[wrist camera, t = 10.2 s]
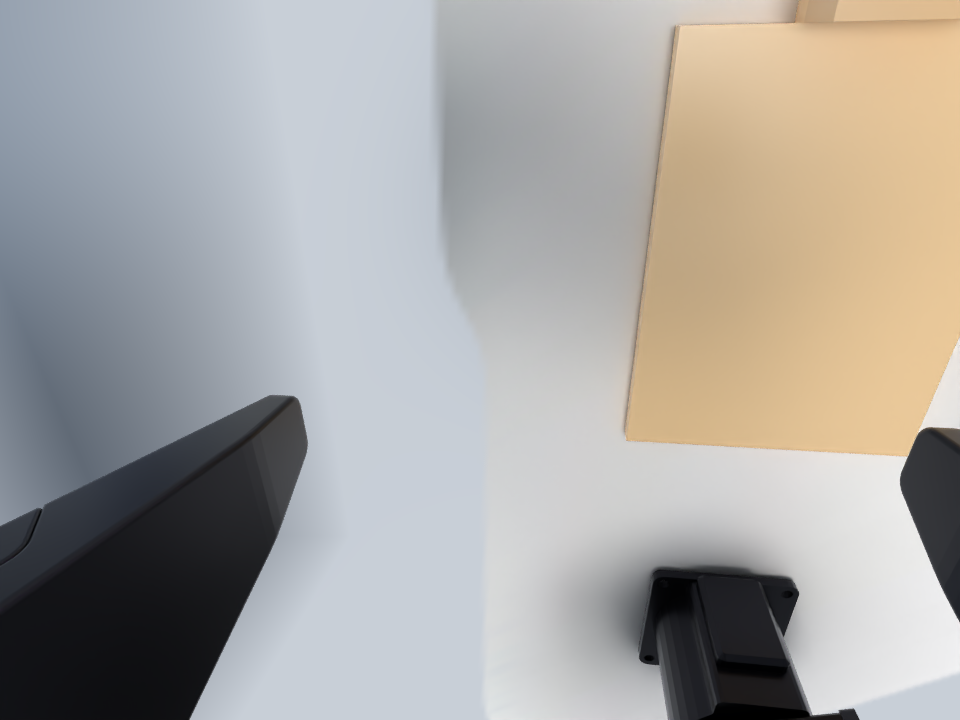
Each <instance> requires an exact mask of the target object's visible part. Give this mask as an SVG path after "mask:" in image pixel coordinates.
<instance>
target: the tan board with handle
mask: <svg viewBox="0 0 960 720" xmlns="http://www.w3.org/2000/svg"><path fill="white" fill-rule="evenodd" d="M959 336H960V0H799V3H798V8H797V12H796V17H795V22H794V23H765V24H720V25H678V26H676V29H675V37H674V44H673V52H672V60H671V68H670V76H669V84H668V92H667V100H666V108H665V116H664V124H663V132H662V140H661V148H660V156H659V164H658V172H657V180H656V188H655V196H654V203H653V211H652V219H651V227H650V235H649V243H648V251H647V259H646V267H645V275H644V283H643V291H642V299H641V307H640V315H639V323H638V331H637V339H636V347H635V355H634V363H633V370H632V378H631V386H630V394H629V402H628V410H627V418H626V426H625V436H626V441H642V442H659V443H677V444H695V445H713V446H730V447H748V448H766V449H784V450H801V451H819V452H837V453H855V454H872V455H890V456H908V454H909V452H910V449H911V447H912V445H913V442H914V440H915V438H916V435H917V433H918V431H919V428H920V426H921V424H922V422H923V419H924V417H925V415H926V412H927V410H928V408H929V405H930V403H931V401H932V398H933V396H934V394H935V392H936V389H937V387H938V385H939V382H940V380H941V378H942V375H943V373H944V371H945V368H946V366H947V364H948V362H949V359H950V357H951V355H952V352H953V350H954V348H955V345H956V343H957V341H958V338H959Z"/></svg>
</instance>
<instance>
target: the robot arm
mask: <svg viewBox="0 0 960 720" xmlns="http://www.w3.org/2000/svg"><path fill="white" fill-rule="evenodd" d="M307 446H308V441H307V435H306V430H305V425H304V420H303V415H302V410H301V405H300V403H299V400H298V399H297V398H296V397H294V396H283V395H270V396H268V397H265V398H263V399H261V400H259V401H257V402H255V403H253V404H251V405H249V406H247V407H245V408H243V409H241V410H238V411H236V412H234V413H233V414H230V415H228V416H227V417H224V418H222V419H220V420H218V421H216V422H214V423H212V424H210V425H208V426H206V427H203V428H201V429H199V430H197V431H195V432H193V433H191V434H189V435H187V436H185V437H183V438H181V439H179V440H177V441H175V442H173V443H171V444H169V445H166V446H164V447H162V448H160V449H158V450H156V451H154V452H152V453H150V454H148V455H146V456H144V457H142V458H140V459H138V460H136V461H134V462H132V463H129V464H127V465H125V466H123V467H121V468H119V469H117V470H115V471H113V472H111V473H109V474H107V475H105V476H103V477H101V478H99V479H97V480H95V481H93V482H90V483H88V484H86V485H84V486H82V487H80V488H78V489H76V490H74V491H72V492H70V493H68V494H66V495H64V496H62V497H60V498H57V499H55V500H53V501H51V502H49V503H47V504H45V505H44V507H43V509H41V508H37V509H34V510H32V511H30V512H28V513H26V514H24V515H22V516H20V517H18V518H16V519H14V520H12V521H10V522H8V523H6V524H4V525H2V526H0V720H190V718H191V715H192V713H193V711H194V709H195V707H196V705H197V703H198V701H199V699H200V697H201V695H202V693H203V691H204V689H205V686H206V684H207V682H208V680H209V678H210V676H211V674H212V672H213V670H214V668H215V666H216V664H217V662H218V659H219V657H220V655H221V653H222V651H223V649H224V647H225V645H226V643H227V641H228V639H229V637H230V635H231V632H232V630H233V628H234V626H235V624H236V622H237V620H238V618H239V616H240V614H241V612H242V610H243V608H244V605H245V603H246V601H247V599H248V597H249V595H250V593H251V591H252V589H253V587H254V585H255V583H256V580H257V578H258V576H259V574H260V572H261V570H262V568H263V566H264V564H265V562H266V560H267V558H268V556H269V554H270V551H271V549H272V547H273V545H274V543H275V540H276V538H277V535H278V533H279V530H280V528H281V525H282V522H283V520H284V517H285V514H286V511H287V508H288V505H289V502H290V500H291V497H292V494H293V491H294V488H295V485H296V482H297V479H298V476H299V474H300V470H301V468H302V465H303V462H304V459H305V456H306V453H307ZM900 486H901V491H902V494H903V496H904V499H905V501H906V504H907V506H908V508H909V511H910V513H911V516H912V518H913V521H914V523H915V525H916V528H917V530H918V533H919V535H920V538H921V540H922V542H923V545H924V547H925V550H926V552H927V555H928V557H929V559H930V562H931V564H932V567H933V569H934V572H935V574H936V576H937V578H938V581H939V583H940V585H941V587H942V589H943V591H944V593H945V595H946V597H947V599H948V601H949V603H950V605H951V607H952V609H953V611H954V613H955V614H956V616H957V618H958V620H959V622H960V429H954V428H933V427H929V428H925V429H923V430H921V431H920V432H919V433H918V435H917V437H916V439H915V441H914V444H913V446H912V448H911V451H910V453H909V455H908V458H907V460H906V462H905V465H904V467H903V469H902V472H901V476H900ZM664 580H665V581H664ZM798 596H799V591H798V589H797V587H796V585H795V583H794V582H792V581H790V580H784V579H771V578H759V577H746V576H733V575H721V574H708V573H695V572H683V571H670V570H659V571H656V572H654V573H653V575H652V577H651V582H650V588H649V593H648V599H647V605H646V610H645V616H644V621H643V627H642V632H641V638H640V643H639V649H638V651H639V659H640V661H641V662H643V663H645V664H652V665H659V666H660V672H661V678H662V684H663V690H664V697H665V703H666V709H667V715H668V720H859V718H858V716H857V714H856V712H855V710H854V708H853V709H844V710H839V713H832V714H822V715H812V712H811V710H810V707H809V704H808V702H807V699H806V696H805V694H804V691H803V688H802V686H801V683H800V680H799V678H798V675H797V672H796V670H795V667H794V664H793V662H792V659H791V656H790V654H789V651H788V648H787V646H786V643H785V640H784V638H783V637H784V635H785V632H786V629H787V626H788V624H789V621H790V618H791V615H792V613H793V610H794V607H795V604H796V602H797V599H798Z"/></svg>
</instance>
